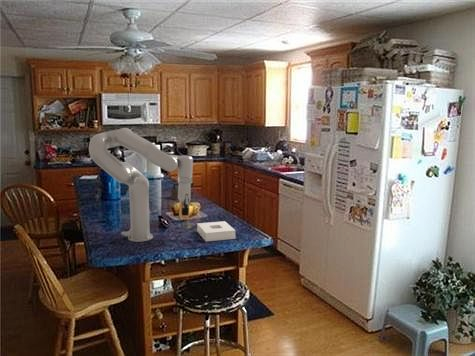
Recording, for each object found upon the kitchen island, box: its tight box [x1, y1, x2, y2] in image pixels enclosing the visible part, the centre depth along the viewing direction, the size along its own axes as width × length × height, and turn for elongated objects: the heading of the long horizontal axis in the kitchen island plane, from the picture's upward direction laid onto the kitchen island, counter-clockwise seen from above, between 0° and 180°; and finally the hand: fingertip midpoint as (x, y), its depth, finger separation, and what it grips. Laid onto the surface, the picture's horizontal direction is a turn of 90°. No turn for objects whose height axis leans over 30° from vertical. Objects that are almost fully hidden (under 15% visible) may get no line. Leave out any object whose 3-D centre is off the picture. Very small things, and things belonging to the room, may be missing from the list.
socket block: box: [196, 220, 236, 243], centre depth 215 cm, size 16×18×4 cm
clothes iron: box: [171, 181, 195, 200], centre depth 297 cm, size 8×16×13 cm, turn 72°
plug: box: [178, 201, 191, 221], centre depth 209 cm, size 4×4×10 cm
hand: (184, 213), depth 209 cm, fingers closed on plug, 4 cm apart
